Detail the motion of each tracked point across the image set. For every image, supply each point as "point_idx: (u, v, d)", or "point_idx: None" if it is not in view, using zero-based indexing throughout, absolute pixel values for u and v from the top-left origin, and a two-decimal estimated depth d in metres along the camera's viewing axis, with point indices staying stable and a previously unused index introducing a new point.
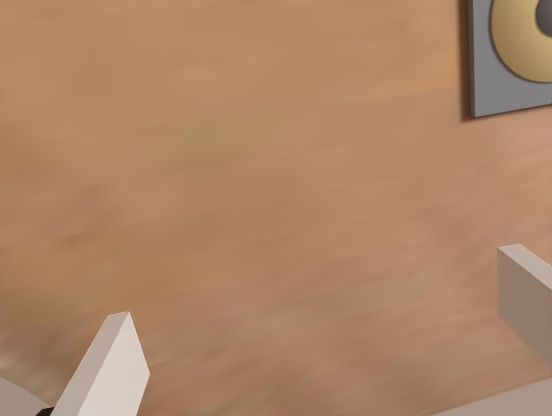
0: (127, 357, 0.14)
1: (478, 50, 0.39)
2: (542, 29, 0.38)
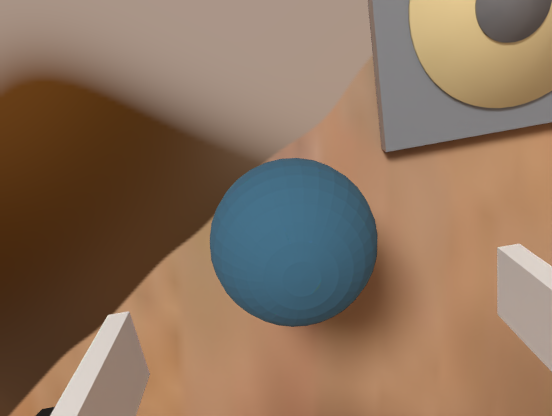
0: (127, 357, 0.14)
1: (542, 117, 0.28)
2: (536, 28, 0.25)
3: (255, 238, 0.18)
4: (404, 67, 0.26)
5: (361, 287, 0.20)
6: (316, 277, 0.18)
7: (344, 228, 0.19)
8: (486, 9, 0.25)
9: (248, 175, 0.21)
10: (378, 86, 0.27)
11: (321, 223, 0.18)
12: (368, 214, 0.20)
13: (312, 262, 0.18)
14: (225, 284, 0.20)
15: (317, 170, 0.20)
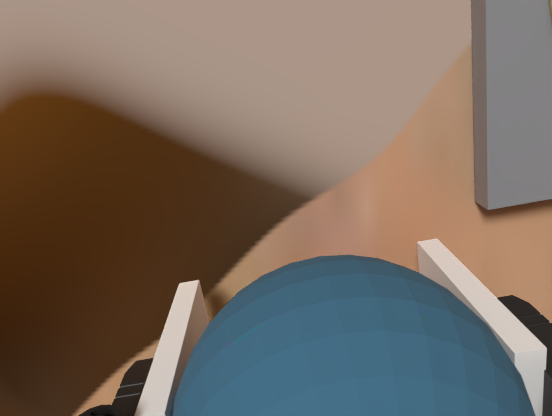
0: (200, 320, 0.16)
1: None
2: None
3: None
4: (532, 65, 0.15)
5: None
6: None
7: None
8: None
9: (252, 308, 0.09)
10: (481, 98, 0.15)
11: None
12: (532, 410, 0.09)
13: None
14: None
15: (416, 311, 0.08)
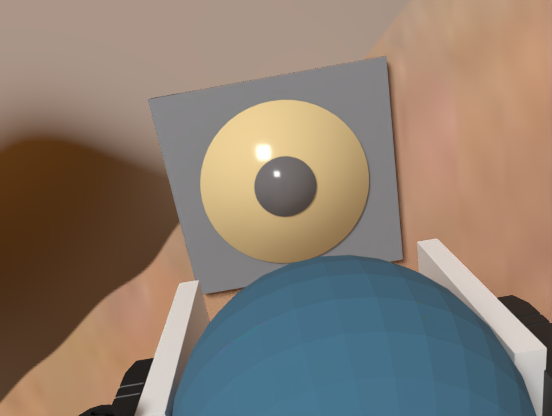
0: (201, 320, 0.16)
1: None
2: (307, 206, 0.31)
3: None
4: (204, 233, 0.32)
5: None
6: None
7: None
8: (263, 193, 0.31)
9: (252, 309, 0.09)
10: None
11: None
12: (534, 411, 0.09)
13: None
14: None
15: (417, 311, 0.08)
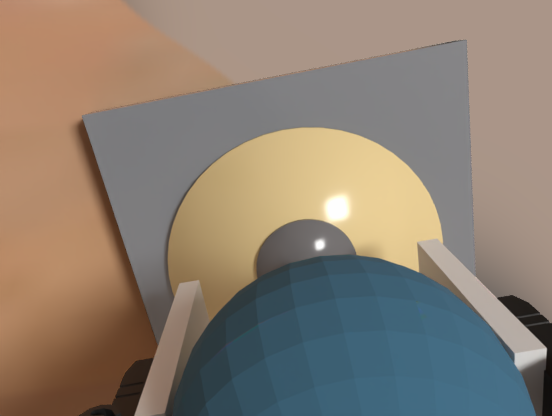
0: (201, 320, 0.16)
1: (162, 332, 0.20)
2: None
3: None
4: (216, 131, 0.17)
5: None
6: None
7: None
8: (297, 234, 0.18)
9: (252, 308, 0.09)
10: (186, 94, 0.17)
11: None
12: (533, 410, 0.09)
13: None
14: None
15: (416, 311, 0.08)
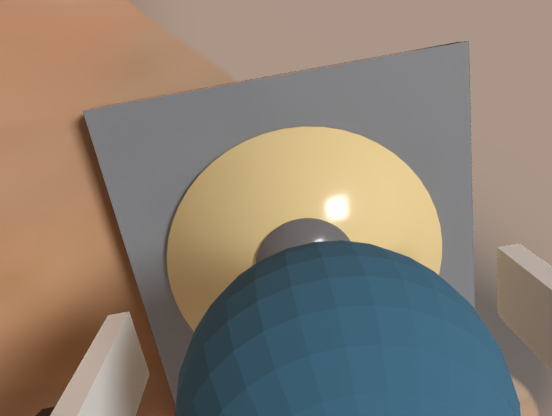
0: (127, 357, 0.14)
1: (160, 329, 0.20)
2: None
3: None
4: (217, 128, 0.17)
5: None
6: None
7: None
8: (297, 233, 0.18)
9: (252, 288, 0.10)
10: (188, 91, 0.17)
11: None
12: (510, 380, 0.09)
13: None
14: None
15: (403, 288, 0.09)
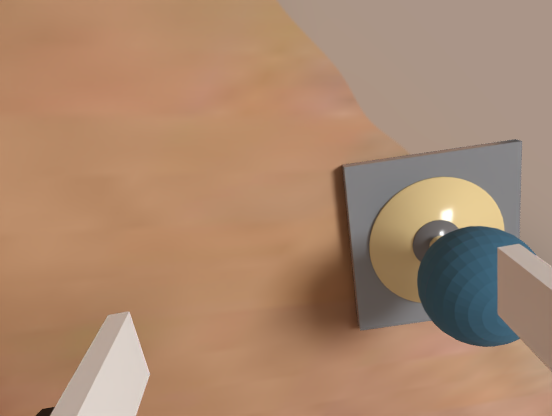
0: (127, 357, 0.14)
1: (359, 274, 0.40)
2: (419, 260, 0.39)
3: (477, 286, 0.27)
4: (403, 176, 0.37)
5: None
6: None
7: None
8: (435, 227, 0.38)
9: (457, 239, 0.30)
10: (391, 159, 0.37)
11: None
12: None
13: None
14: (442, 315, 0.29)
15: (510, 239, 0.29)
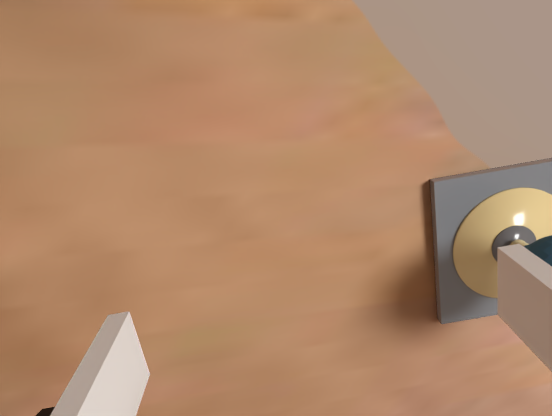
0: (127, 357, 0.14)
1: (442, 275, 0.44)
2: None
3: None
4: (486, 188, 0.42)
5: None
6: None
7: None
8: (513, 231, 0.43)
9: None
10: (474, 173, 0.41)
11: None
12: None
13: None
14: None
15: None
